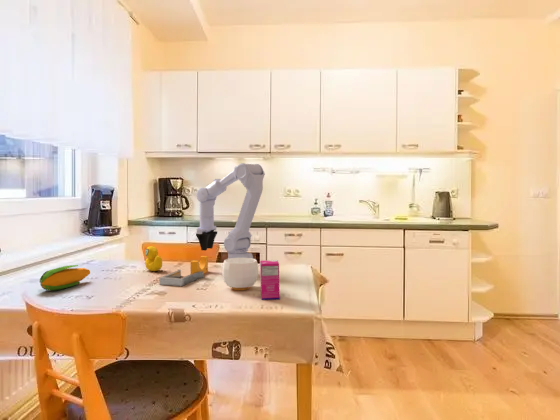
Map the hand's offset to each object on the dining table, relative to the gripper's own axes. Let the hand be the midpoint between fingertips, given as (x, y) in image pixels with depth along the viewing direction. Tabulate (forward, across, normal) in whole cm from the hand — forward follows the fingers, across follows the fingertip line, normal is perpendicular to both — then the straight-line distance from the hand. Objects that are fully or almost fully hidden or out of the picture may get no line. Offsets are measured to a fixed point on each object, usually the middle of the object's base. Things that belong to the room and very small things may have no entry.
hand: (206, 249), depth 173 cm
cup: (+9, +26, +25) cm, 37 cm away
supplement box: (+9, +34, +38) cm, 52 cm away
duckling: (+9, +9, -20) cm, 24 cm away
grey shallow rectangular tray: (+8, +22, 0) cm, 24 cm away
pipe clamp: (+9, +10, +1) cm, 13 cm away
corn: (+9, +41, -34) cm, 54 cm away
